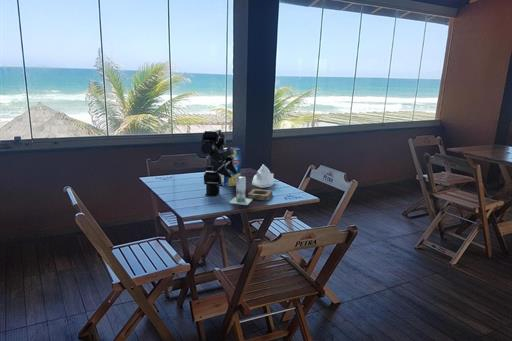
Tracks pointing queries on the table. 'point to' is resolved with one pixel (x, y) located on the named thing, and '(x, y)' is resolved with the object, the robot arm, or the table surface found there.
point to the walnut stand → (260, 194)
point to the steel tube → (240, 189)
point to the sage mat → (240, 202)
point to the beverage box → (237, 164)
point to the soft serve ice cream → (263, 177)
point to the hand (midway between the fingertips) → (233, 175)
